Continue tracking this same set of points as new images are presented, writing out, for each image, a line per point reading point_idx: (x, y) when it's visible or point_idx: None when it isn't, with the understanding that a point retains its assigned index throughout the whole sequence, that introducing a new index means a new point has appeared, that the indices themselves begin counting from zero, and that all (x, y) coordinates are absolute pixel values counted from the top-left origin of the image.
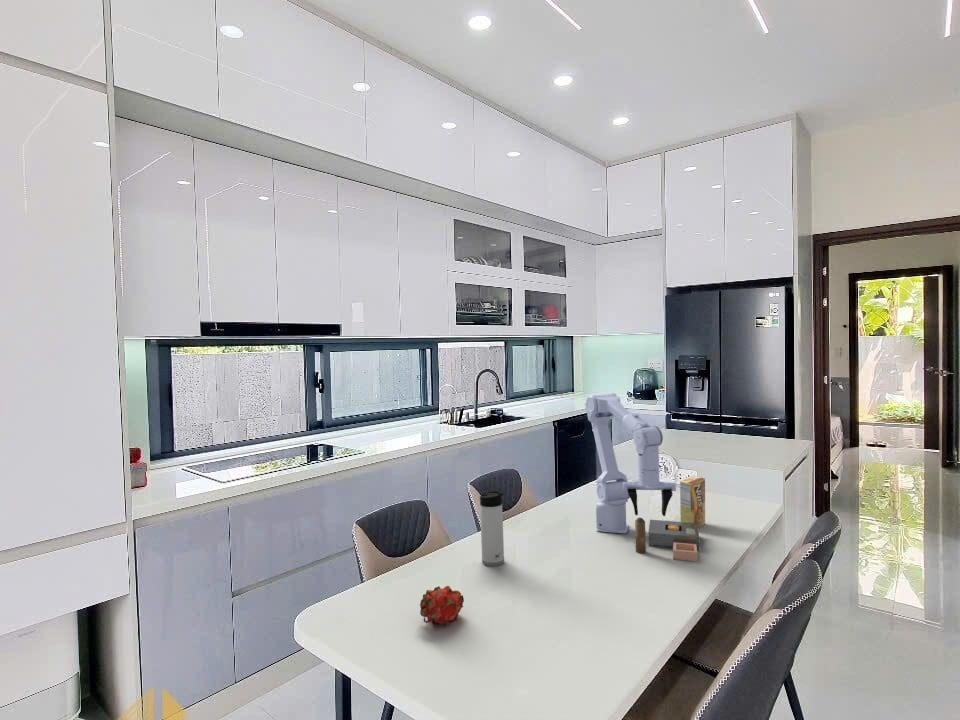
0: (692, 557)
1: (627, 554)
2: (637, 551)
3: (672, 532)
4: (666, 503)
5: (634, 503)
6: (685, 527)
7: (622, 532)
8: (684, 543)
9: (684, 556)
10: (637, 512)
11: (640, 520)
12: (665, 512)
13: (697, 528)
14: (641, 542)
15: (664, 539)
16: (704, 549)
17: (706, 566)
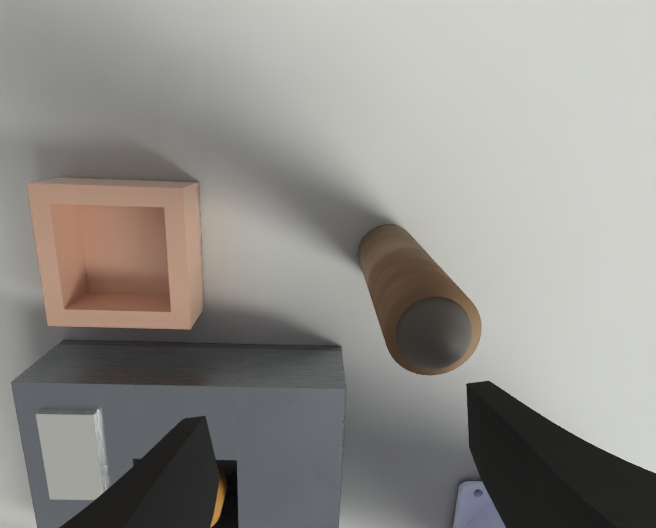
0: (76, 179)
1: (466, 195)
2: (408, 233)
3: None
4: (92, 516)
5: (580, 450)
6: None
7: (483, 484)
8: (120, 323)
9: (124, 181)
10: (481, 393)
11: (433, 309)
12: (164, 436)
13: (40, 519)
14: (393, 240)
15: (246, 367)
16: None
17: (3, 115)
